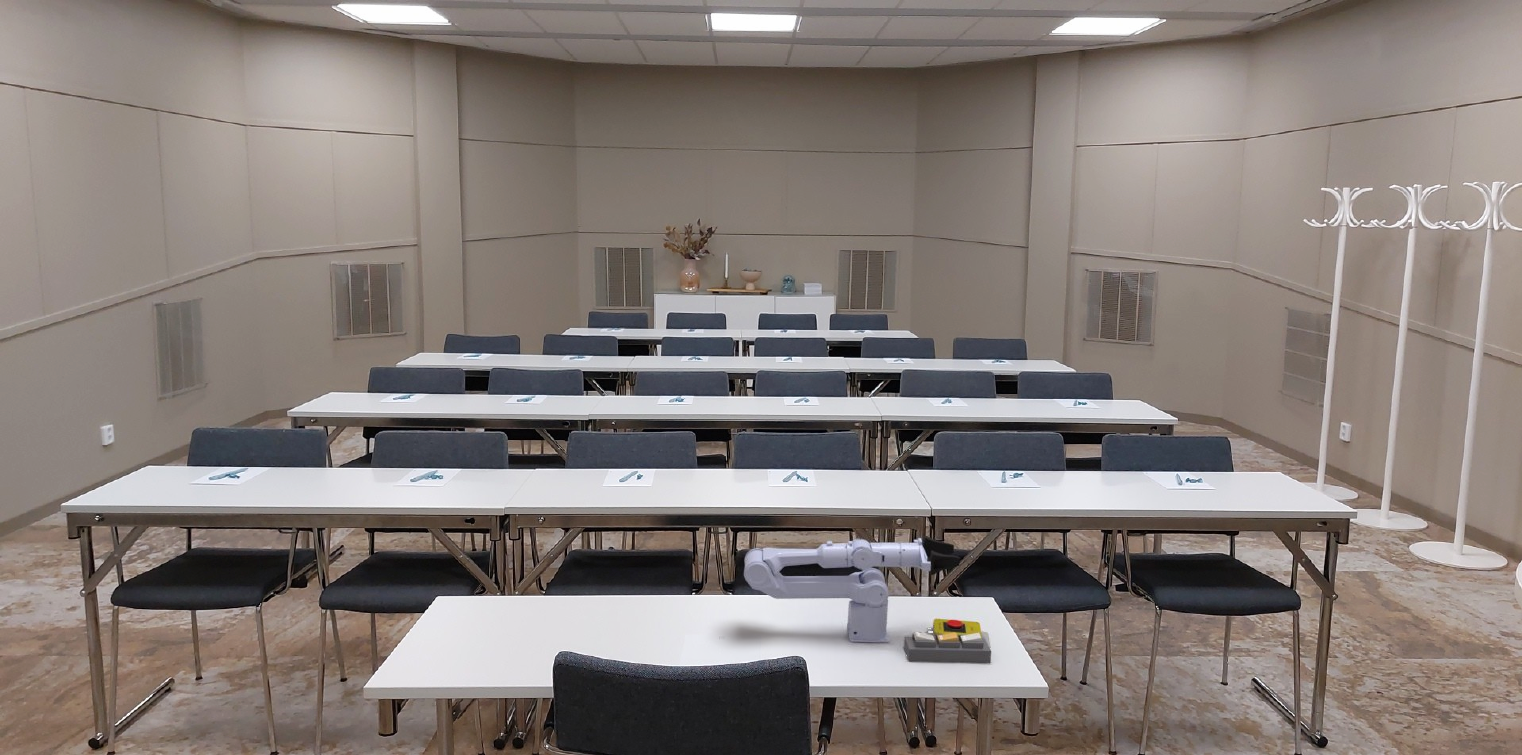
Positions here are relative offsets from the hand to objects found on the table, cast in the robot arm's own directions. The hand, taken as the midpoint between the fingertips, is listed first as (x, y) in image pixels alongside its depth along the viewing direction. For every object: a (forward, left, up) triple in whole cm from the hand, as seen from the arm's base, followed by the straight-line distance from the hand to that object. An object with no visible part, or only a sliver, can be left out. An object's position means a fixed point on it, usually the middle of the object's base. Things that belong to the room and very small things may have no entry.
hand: (956, 555), depth 255 cm
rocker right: (+3, -10, -17) cm, 20 cm away
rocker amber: (-3, -10, -17) cm, 20 cm away
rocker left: (-8, -10, -17) cm, 21 cm away
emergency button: (+2, 0, -22) cm, 22 cm away
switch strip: (-3, -10, -21) cm, 23 cm away
